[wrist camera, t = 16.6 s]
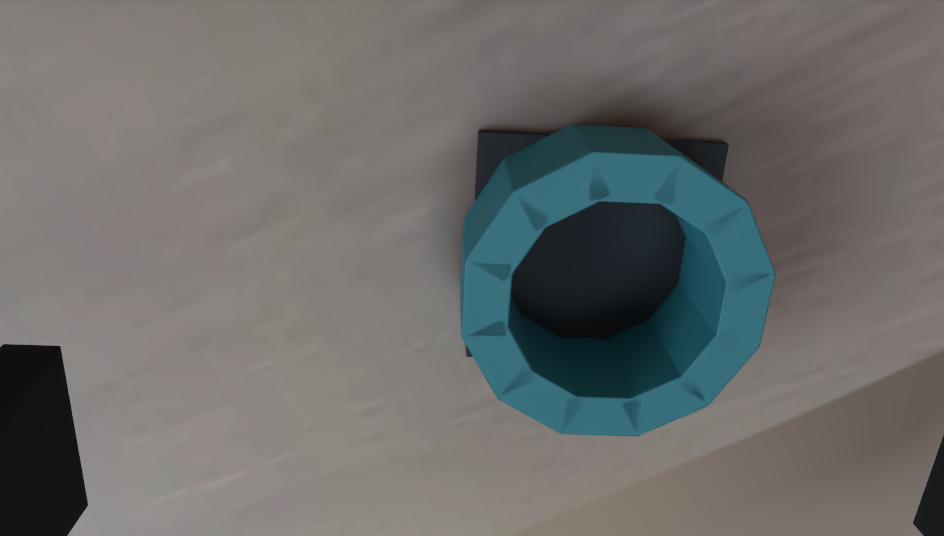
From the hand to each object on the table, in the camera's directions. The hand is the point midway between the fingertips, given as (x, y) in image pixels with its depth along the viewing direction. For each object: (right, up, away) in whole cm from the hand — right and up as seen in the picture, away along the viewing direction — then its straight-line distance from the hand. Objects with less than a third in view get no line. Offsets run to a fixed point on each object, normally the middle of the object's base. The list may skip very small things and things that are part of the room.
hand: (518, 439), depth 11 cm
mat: (+4, +3, +20) cm, 21 cm away
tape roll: (+4, +3, +20) cm, 21 cm away
